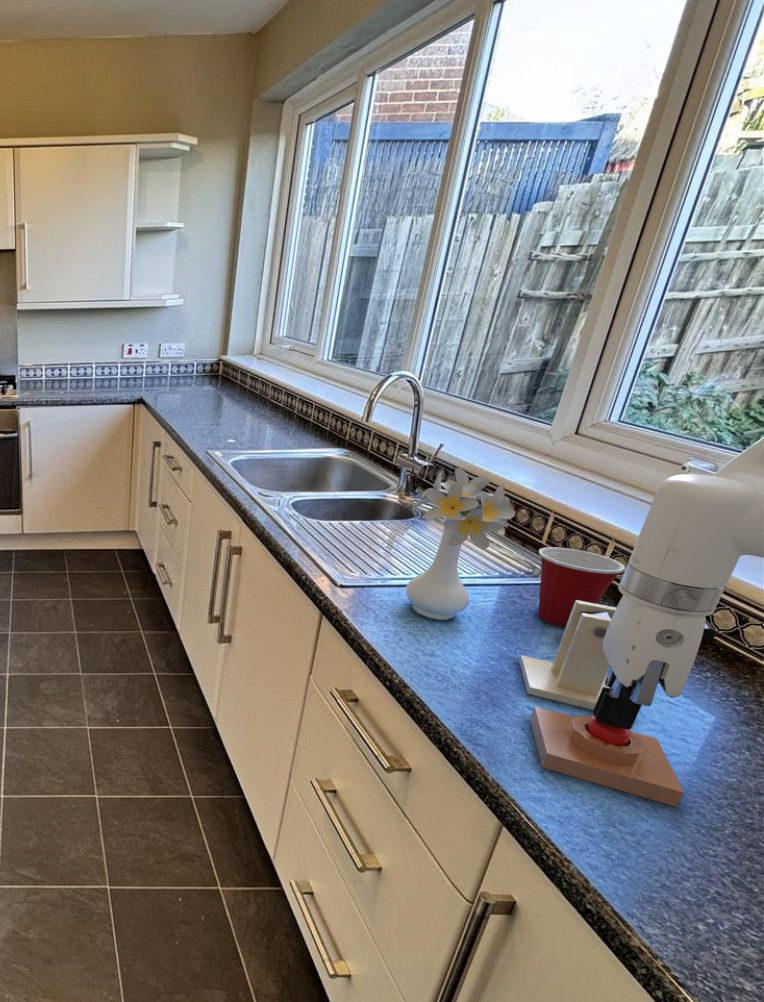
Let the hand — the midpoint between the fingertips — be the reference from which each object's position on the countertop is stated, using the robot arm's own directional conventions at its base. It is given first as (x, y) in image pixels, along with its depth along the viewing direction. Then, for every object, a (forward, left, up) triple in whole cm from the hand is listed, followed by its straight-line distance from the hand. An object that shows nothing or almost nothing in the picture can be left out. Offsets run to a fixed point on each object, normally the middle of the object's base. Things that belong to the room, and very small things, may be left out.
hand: (610, 721), depth 74 cm
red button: (0, 0, -2) cm, 2 cm away
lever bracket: (0, -16, -6) cm, 17 cm away
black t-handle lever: (-5, -16, +5) cm, 18 cm away
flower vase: (+16, -31, -6) cm, 35 cm away
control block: (0, 0, -6) cm, 6 cm away
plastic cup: (-2, -39, -6) cm, 40 cm away
